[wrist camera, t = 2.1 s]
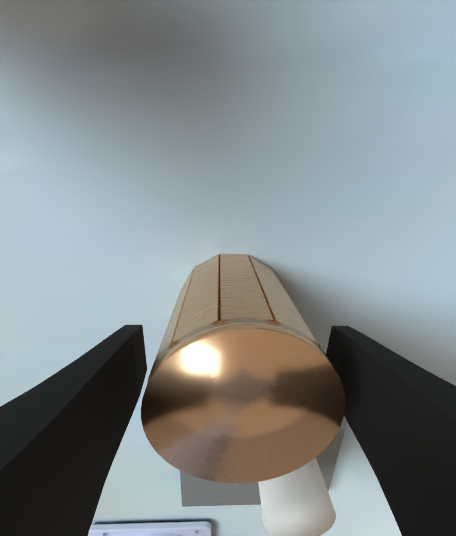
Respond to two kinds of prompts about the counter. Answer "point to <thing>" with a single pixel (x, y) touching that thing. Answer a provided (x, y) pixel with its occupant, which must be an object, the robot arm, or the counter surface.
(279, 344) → the copper topped wooden cylinder
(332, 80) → the counter surface
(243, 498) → the base
